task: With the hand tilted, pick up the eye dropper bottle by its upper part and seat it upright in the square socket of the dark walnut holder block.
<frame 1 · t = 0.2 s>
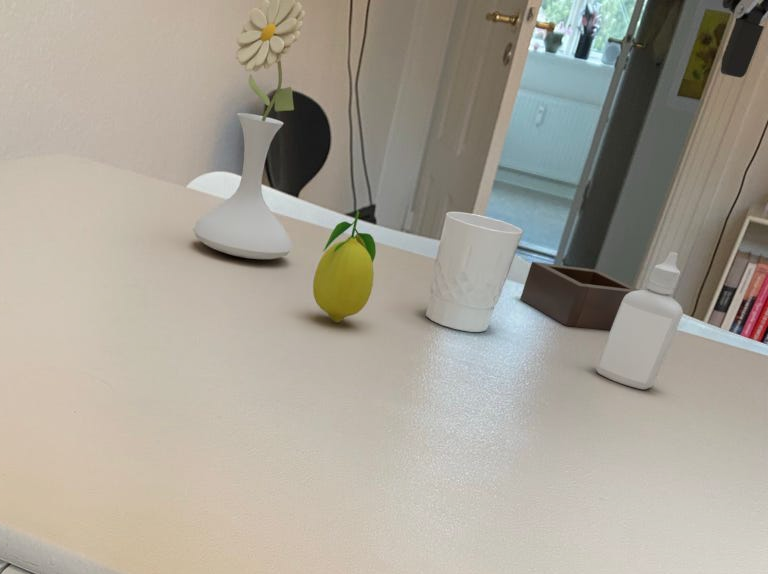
hand: (767, 81, 73), 26 cm above the table, tool pointing down, fingers open, 8 cm apart
lemon: (334, 324, 87), on the table
holder: (575, 315, 110), on the table
eye dropper bottle: (622, 382, 90), on the table
flower in vase: (242, 257, 104), on the table
white cup: (455, 324, 96), on the table
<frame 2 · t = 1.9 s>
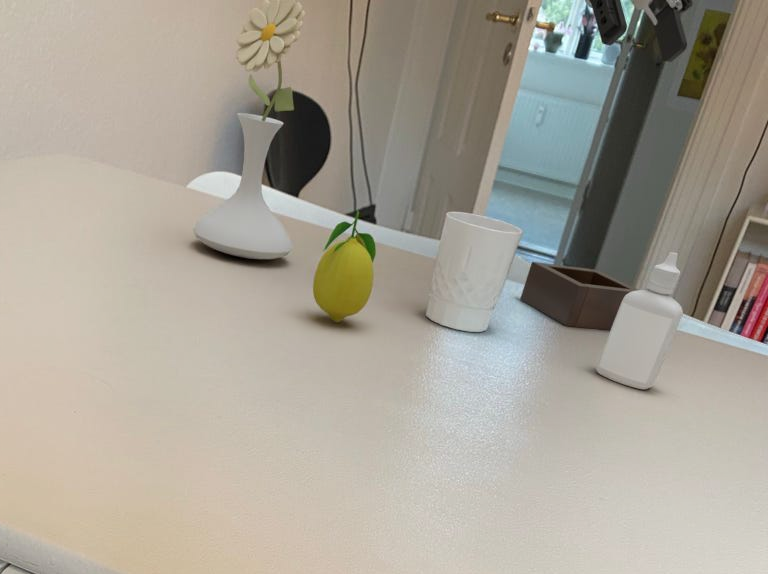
hand: (646, 47, 82), 27 cm above the table, tool tilted 45°, fingers open, 8 cm apart
nothing on the table moved.
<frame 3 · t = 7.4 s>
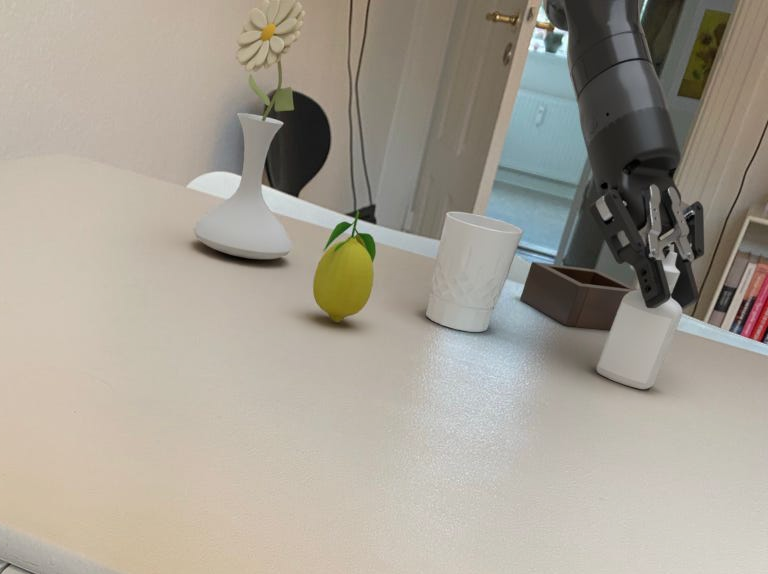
hand: (673, 304, 84), 8 cm above the table, tool tilted 45°, fingers closed on eye dropper bottle, 3 cm apart
eye dropper bottle: (622, 381, 90), on the table, touching gripper
everything else where it was.
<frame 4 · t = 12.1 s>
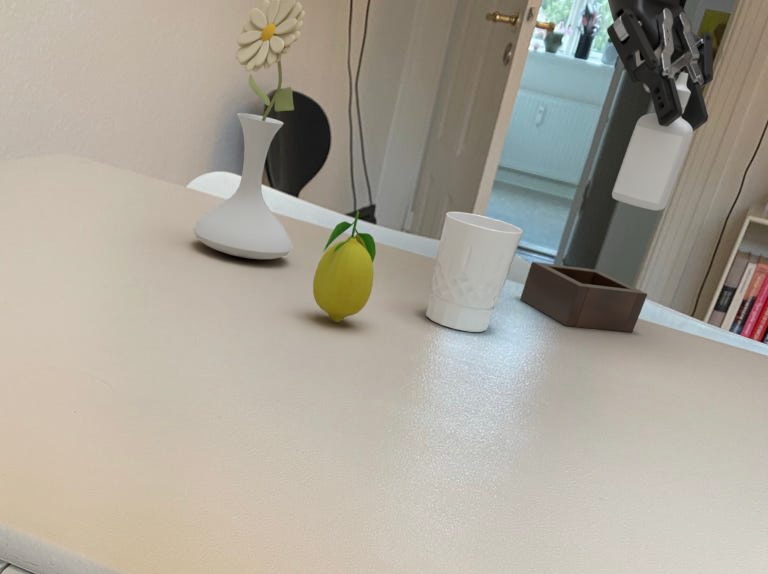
hand: (684, 122, 90), 22 cm above the table, tool tilted 45°, fingers closed on eye dropper bottle, 3 cm apart
eye dropper bottle: (636, 206, 96), point 14 cm above the table, touching gripper
everything else where it was.
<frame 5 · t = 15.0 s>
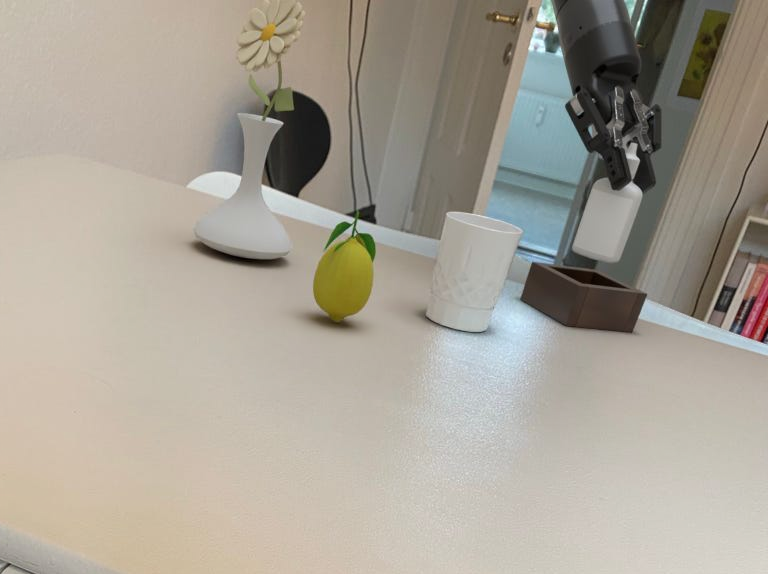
hand: (634, 187, 101), 15 cm above the table, tool tilted 45°, fingers closed on eye dropper bottle, 3 cm apart
eye dropper bottle: (593, 258, 107), point 7 cm above the table, touching gripper
everything else where it was.
when the fingers open (8 cm above the table, at t = 17.2 s): eye dropper bottle stays where it is, resting in holder.
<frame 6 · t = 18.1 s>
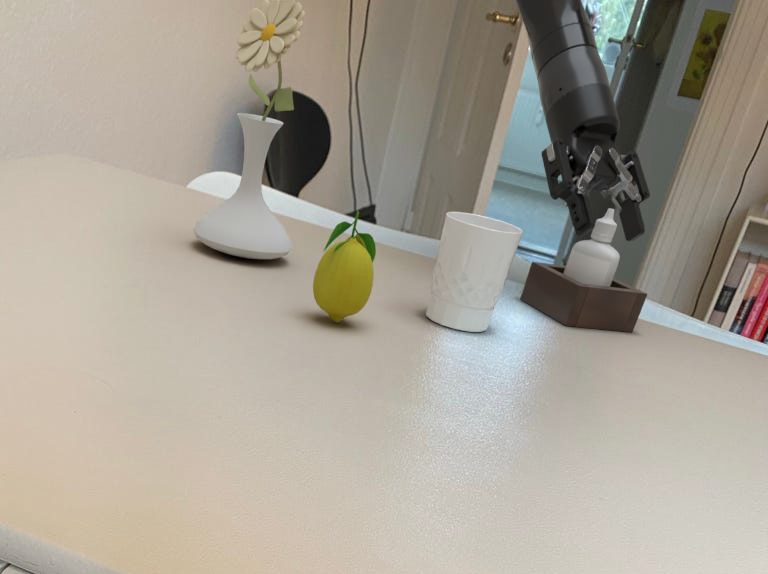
hand: (611, 235, 104), 10 cm above the table, tool tilted 45°, fingers open, 8 cm apart
eye dropper bottle: (573, 316, 110), resting in holder
everything else where it was.
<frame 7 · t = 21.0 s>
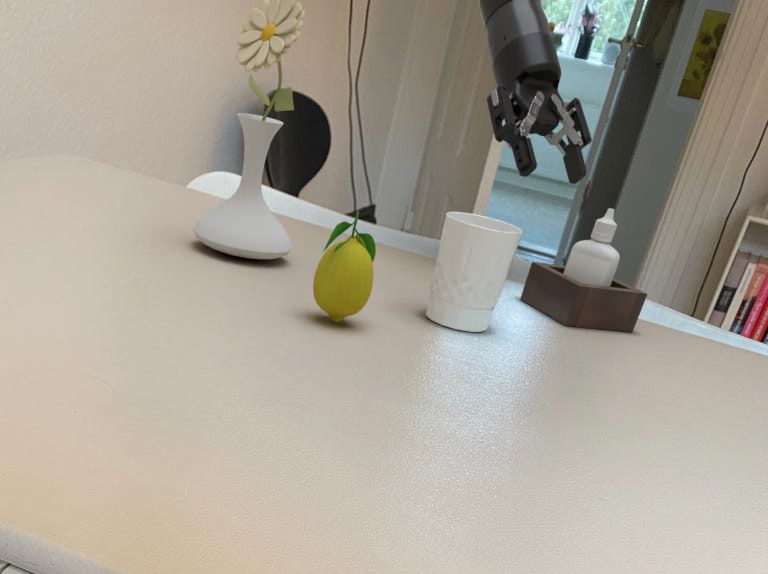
hand: (554, 176, 110), 13 cm above the table, tool tilted 45°, fingers open, 8 cm apart
nothing on the table moved.
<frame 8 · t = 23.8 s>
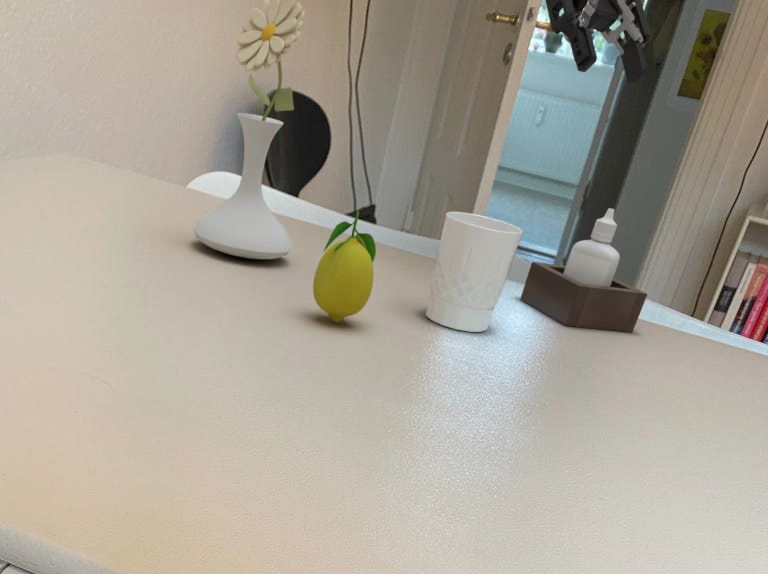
hand: (613, 73, 103), 25 cm above the table, tool tilted 45°, fingers open, 8 cm apart
nothing on the table moved.
at the end: eye dropper bottle 0.2 cm off-centre in the holder, point 0.0 cm above the holder's base; eye dropper bottle tilted 0°; the gripper is holding nothing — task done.
